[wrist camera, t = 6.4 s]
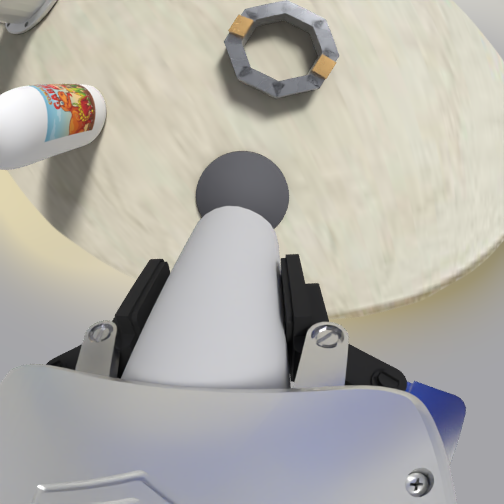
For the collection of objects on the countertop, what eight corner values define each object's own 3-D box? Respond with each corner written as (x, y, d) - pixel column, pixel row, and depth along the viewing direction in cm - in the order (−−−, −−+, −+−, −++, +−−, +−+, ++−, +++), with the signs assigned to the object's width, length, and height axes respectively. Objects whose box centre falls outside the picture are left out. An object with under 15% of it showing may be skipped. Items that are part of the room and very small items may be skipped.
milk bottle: (100, 151, 28) (-34, 215, 10) (55, 140, 27) (-70, 192, 9) (115, 88, 24) (-32, 95, 7) (67, 82, 23) (-68, 97, 6)
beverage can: (229, 290, 18) (198, 485, 7) (176, 234, 16) (74, 424, 5) (294, 250, 16) (328, 466, 5) (242, 184, 14) (189, 393, 4)
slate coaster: (183, 214, 31) (182, 216, 31) (221, 135, 27) (220, 135, 27) (260, 251, 33) (260, 253, 33) (305, 179, 29) (306, 180, 28)
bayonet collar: (213, 70, 24) (207, 65, 21) (259, -3, 19) (259, -15, 16) (301, 113, 26) (306, 112, 23) (345, 40, 21) (354, 33, 18)
